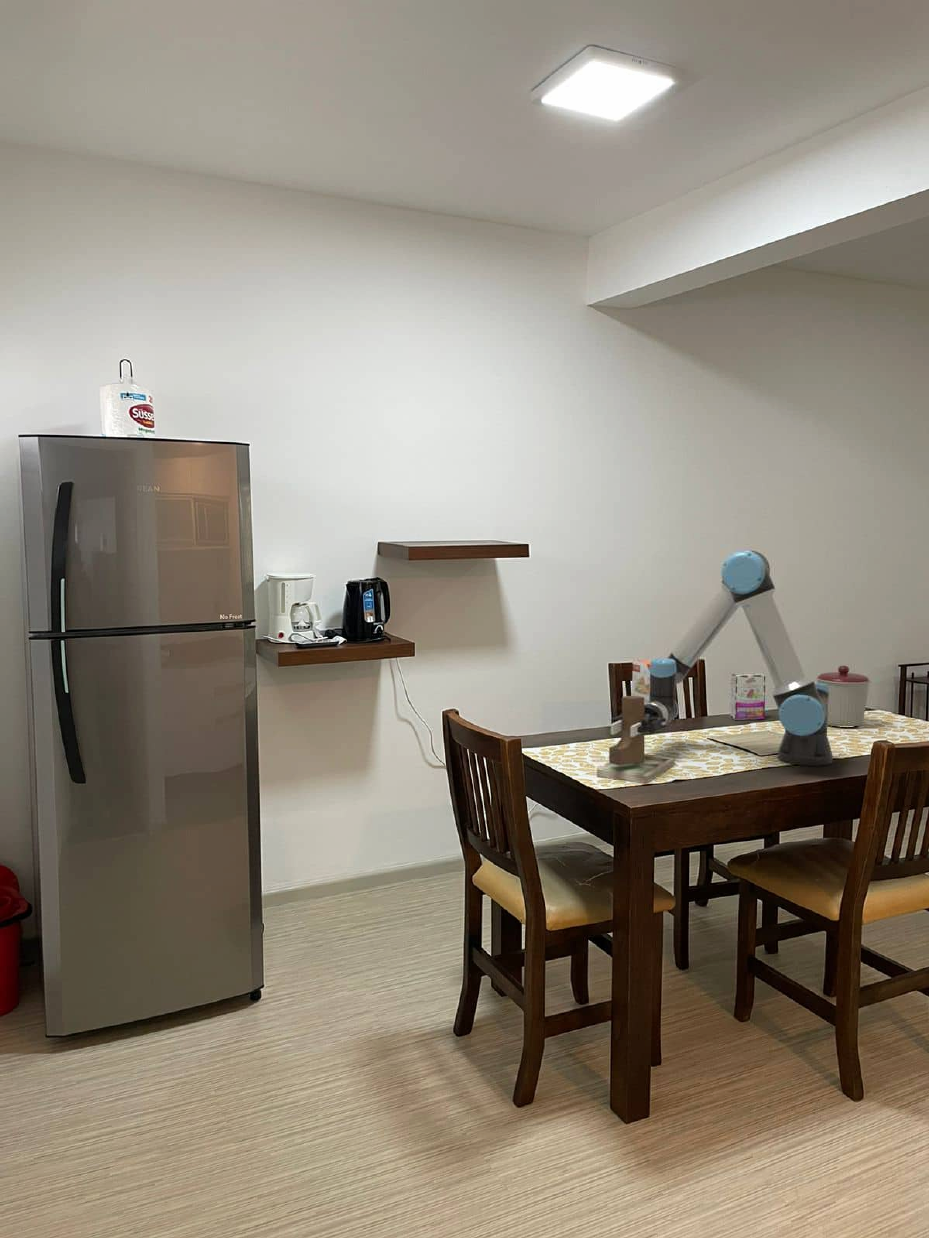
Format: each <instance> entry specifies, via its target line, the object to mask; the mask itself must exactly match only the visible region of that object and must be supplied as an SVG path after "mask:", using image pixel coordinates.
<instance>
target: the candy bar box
mask: <svg viewBox="0 0 929 1238" xmlns="http://www.w3.org/2000/svg"><path fill="white" fill-rule="evenodd" d="M765 713H766V674H763V673H732V674H731V675H730V717H731V716H733V718H735V719H737V718H760V719H761V718H762V719H764V720H765V717H766V716H765V715H766V714H765Z"/></svg>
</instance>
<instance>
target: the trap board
mask: <svg viewBox="0 0 929 1238" xmlns="http://www.w3.org/2000/svg"><path fill="white" fill-rule="evenodd" d="M675 760H676V759H675V757H668V756H661V755H653V754H652V755H651V754H645V753H644V762H643V763H636V764H627V765H616V764H611V763H610V762H608V763H606V764H604V765H602V766H600V767H599V768H597V769H596V777H598V778H605V779H612V780H617V781H627V782H632V783H633V782H634V783H640V784H648V783H650V782H651V781H653V780H655V779H656V778H657V777H658V776H660V775H662V774H663V773H665V772H667V771H668V770H670V769H671V768H673V766H676V765H675V763H676V762H675ZM670 767H671V768H670ZM664 771H665V772H664ZM661 773H662V774H661Z"/></svg>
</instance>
